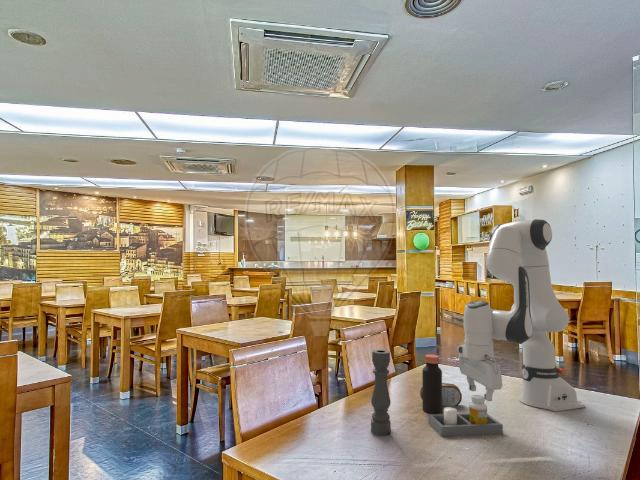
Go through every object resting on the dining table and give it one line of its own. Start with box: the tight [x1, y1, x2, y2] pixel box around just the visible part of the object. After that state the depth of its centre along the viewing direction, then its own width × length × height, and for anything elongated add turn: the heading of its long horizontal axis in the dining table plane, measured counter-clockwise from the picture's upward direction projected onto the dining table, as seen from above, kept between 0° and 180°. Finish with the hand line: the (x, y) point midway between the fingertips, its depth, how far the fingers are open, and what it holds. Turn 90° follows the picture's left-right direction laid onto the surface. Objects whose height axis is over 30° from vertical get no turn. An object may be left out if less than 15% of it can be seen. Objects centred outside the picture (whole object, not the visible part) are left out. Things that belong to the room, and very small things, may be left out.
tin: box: [419, 382, 463, 407], centre depth 152 cm, size 15×3×8 cm, turn 84°
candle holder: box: [370, 349, 392, 437], centre depth 128 cm, size 6×6×25 cm
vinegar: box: [421, 354, 443, 415], centre depth 145 cm, size 7×7×20 cm
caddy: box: [427, 412, 504, 437], centre depth 129 cm, size 20×10×4 cm, turn 98°
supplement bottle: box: [468, 394, 488, 424], centre depth 130 cm, size 5×5×10 cm
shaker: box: [443, 406, 458, 426], centre depth 129 cm, size 4×4×6 cm
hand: (480, 395), depth 131 cm, fingers open, 8 cm apart
